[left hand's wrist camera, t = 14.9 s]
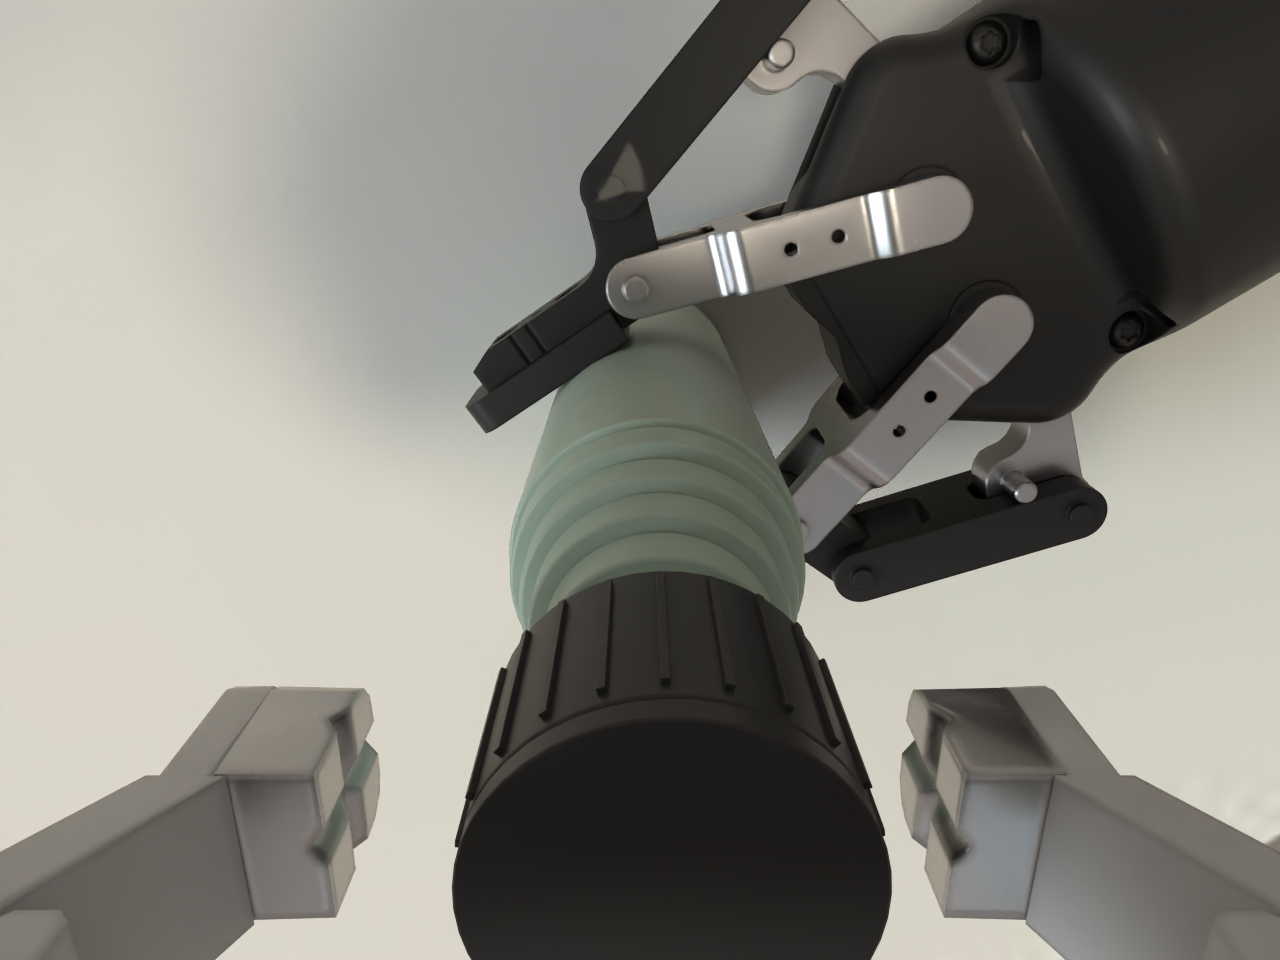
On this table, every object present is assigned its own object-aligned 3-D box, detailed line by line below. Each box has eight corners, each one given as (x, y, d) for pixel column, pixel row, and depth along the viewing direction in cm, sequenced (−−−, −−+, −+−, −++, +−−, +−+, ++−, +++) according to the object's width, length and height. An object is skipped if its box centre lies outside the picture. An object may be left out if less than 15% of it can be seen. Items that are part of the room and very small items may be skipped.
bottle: (596, 464, 27) (512, 1086, 9) (547, 318, 25) (329, 715, 7) (744, 422, 26) (967, 990, 8) (704, 271, 25) (872, 574, 7)
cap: (849, 828, 10) (915, 1035, 8) (533, 873, 11) (501, 1088, 8) (816, 538, 9) (881, 680, 7) (455, 595, 9) (391, 752, 7)
